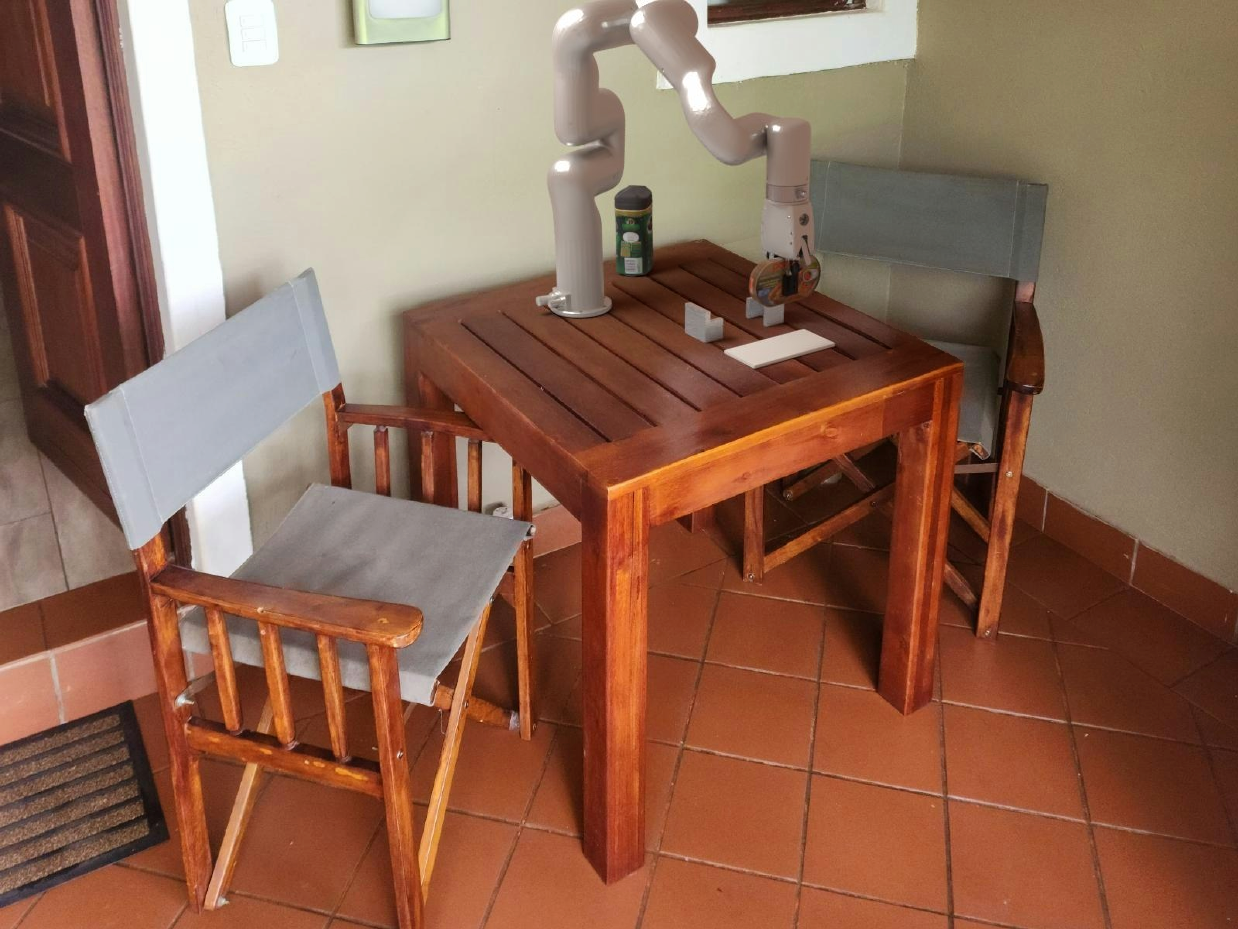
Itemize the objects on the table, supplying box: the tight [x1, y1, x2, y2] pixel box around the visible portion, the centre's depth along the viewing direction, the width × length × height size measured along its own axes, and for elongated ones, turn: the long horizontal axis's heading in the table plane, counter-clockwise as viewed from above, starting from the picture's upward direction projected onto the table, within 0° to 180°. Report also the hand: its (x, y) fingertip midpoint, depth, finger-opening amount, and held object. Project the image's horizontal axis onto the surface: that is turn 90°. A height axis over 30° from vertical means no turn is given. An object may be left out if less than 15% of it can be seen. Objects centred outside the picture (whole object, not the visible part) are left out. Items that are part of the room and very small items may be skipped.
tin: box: [748, 254, 822, 307], centre depth 213 cm, size 15×3×8 cm, turn 121°
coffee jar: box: [613, 184, 655, 277], centre depth 258 cm, size 10×8×19 cm
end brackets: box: [684, 296, 785, 344], centre depth 228 cm, size 7×19×6 cm, turn 122°
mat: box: [723, 328, 836, 369], centre depth 219 cm, size 19×9×1 cm, turn 122°
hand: (784, 291), depth 214 cm, fingers closed on tin, 2 cm apart
